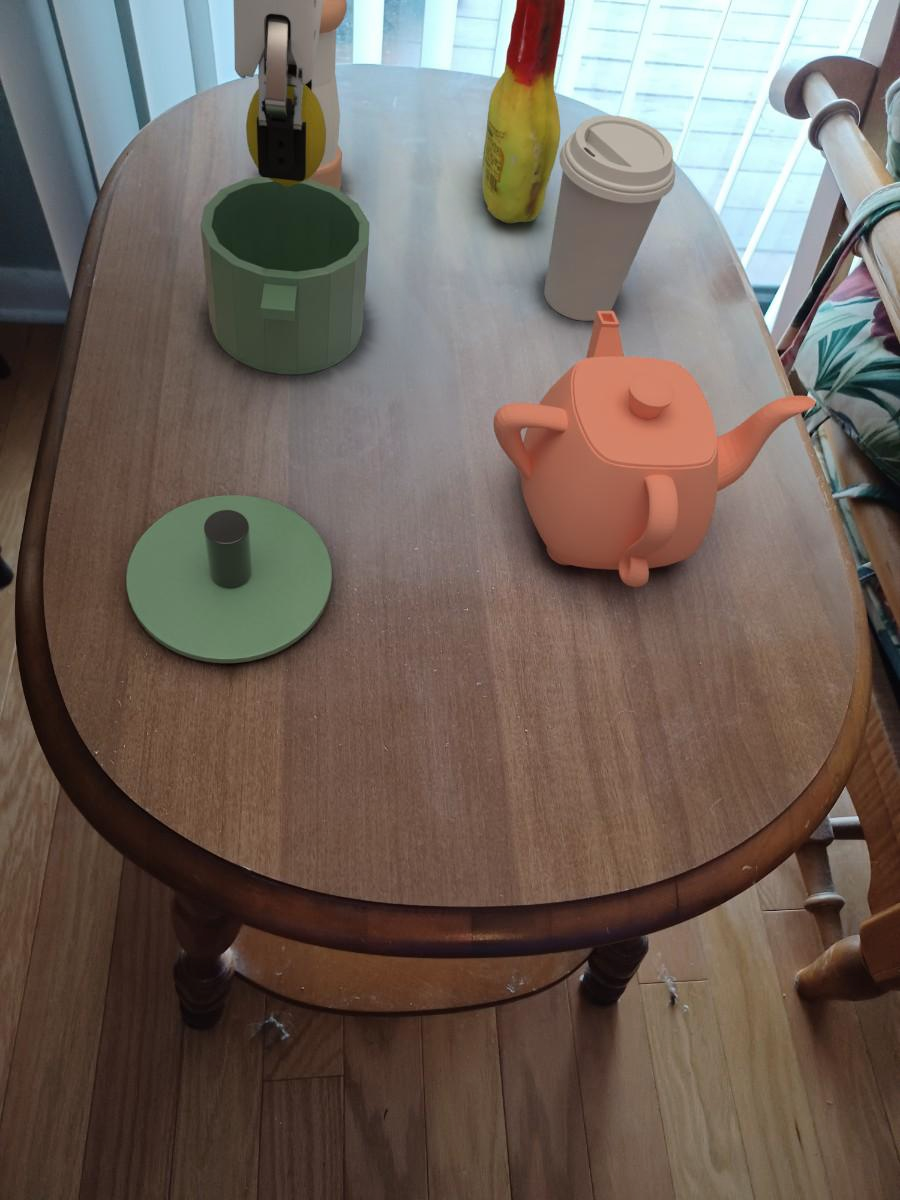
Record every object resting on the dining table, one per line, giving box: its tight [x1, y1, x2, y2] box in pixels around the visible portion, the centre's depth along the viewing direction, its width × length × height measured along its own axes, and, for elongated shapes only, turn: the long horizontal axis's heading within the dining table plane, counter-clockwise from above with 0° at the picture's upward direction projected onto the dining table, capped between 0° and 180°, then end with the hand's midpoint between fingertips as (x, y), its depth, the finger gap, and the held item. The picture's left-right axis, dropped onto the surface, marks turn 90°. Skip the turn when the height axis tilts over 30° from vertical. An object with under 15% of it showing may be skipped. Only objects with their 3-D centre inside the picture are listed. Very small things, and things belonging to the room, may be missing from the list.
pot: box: [200, 176, 370, 376], centre depth 77 cm, size 13×18×10 cm
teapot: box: [492, 310, 816, 588], centre depth 68 cm, size 16×17×14 cm
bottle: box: [480, 0, 566, 224], centre depth 86 cm, size 12×6×20 cm, turn 6°
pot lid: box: [125, 494, 333, 664], centre depth 63 cm, size 14×14×6 cm
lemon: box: [245, 85, 326, 187], centre depth 67 cm, size 6×6×8 cm
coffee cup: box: [543, 114, 676, 322], centre depth 81 cm, size 10×10×15 cm
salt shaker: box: [309, 0, 348, 191], centre depth 84 cm, size 7×7×19 cm
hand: (285, 148), depth 68 cm, fingers closed on lemon, 5 cm apart
